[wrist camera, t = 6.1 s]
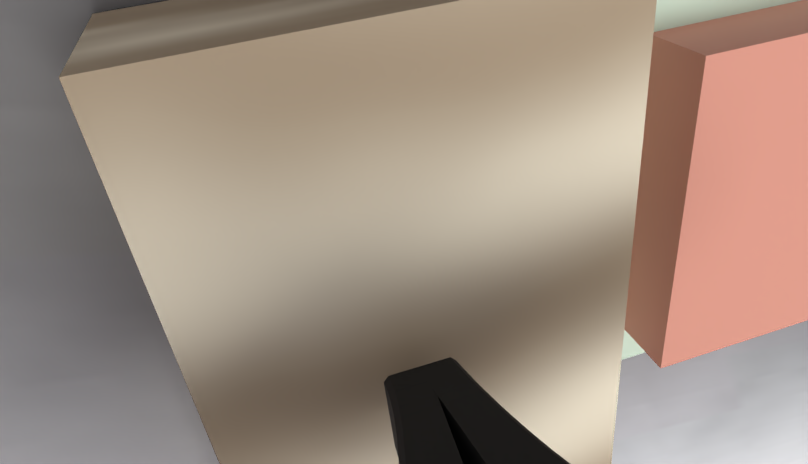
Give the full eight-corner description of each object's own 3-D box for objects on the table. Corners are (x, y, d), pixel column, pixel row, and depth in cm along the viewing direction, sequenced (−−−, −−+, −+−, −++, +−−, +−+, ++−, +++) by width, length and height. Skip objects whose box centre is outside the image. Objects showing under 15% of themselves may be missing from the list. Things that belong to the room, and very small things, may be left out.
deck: (539, 400, 21) (607, 502, 18) (266, 488, 19) (284, 620, 16) (541, -65, 13) (660, -39, 10) (92, 13, 12) (59, 77, 8)
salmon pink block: (660, 368, 18) (620, 325, 20) (835, 311, 19) (783, 274, 21) (705, 55, 13) (648, 33, 15) (935, 3, 14) (857, -12, 16)
